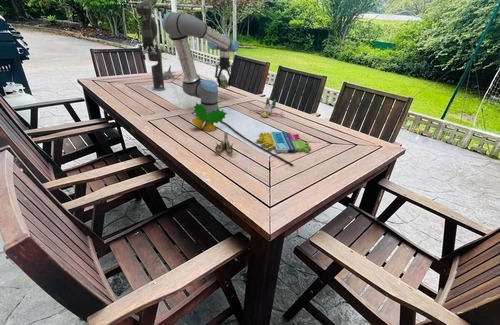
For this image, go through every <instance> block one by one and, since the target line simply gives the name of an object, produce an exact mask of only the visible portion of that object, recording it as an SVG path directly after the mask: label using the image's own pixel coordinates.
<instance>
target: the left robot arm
mask: <svg viewBox="0 0 500 325" xmlns="http://www.w3.org/2000/svg"><path fill="white" fill-rule="evenodd" d="M157 2H158V0H141V2H139V3H137V4H136V6H135V13H136V14H137V15H138V16H141V17H143V18H144V19H141V20H140V22H139V23H140V33H141V41H142V44H138V53H139V55H141V57H142V61H146V60H147V59H148V61H149V62H157V63H156V64H154V65H152V66H151V76H152V85H153V90H154V91H164V90H165V81H164V80H165V79H163V74H164V70H163V56H162V55H163V54H162V51H161V50H159V45H158V44H154V42H155V39H156V38H157V36H158V24H157V22H156V20H155V19H154V17H153V16H152V15H153V7H155V6H156V5H157ZM146 54H147V59H146Z"/></svg>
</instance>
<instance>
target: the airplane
mask: <svg viewBox="0 0 500 325" xmlns="http://www.w3.org/2000/svg"><path fill="white" fill-rule="evenodd" d="M171 68H172V65H169V67H168V69H167V71H165V70H163V79H164V80H168V79H169V78H171V79H173V78H175V77H176V76H179V77H180V76H181V74H176V72H173V71H172V70H171Z"/></svg>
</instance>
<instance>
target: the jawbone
mask: <svg viewBox="0 0 500 325" xmlns="http://www.w3.org/2000/svg"><path fill="white" fill-rule="evenodd" d="M223 135H224V136H223V140H222V139H221V142H220V144H218V142H215V144H216V146H215V148H214V149H215V152H214V154H215V155H217V156H218V155H220V153H221V152H223V151H224V150H226V152H227V153H228V155H229V156H233V155H234V154H233V153H234V148H233V144H234V143H230V140H228V139H229V138H228V137H229V136H228V135H229V133H228V131H226V132H224V134H223Z"/></svg>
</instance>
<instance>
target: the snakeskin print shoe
mask: <svg viewBox="0 0 500 325" xmlns="http://www.w3.org/2000/svg"><path fill="white" fill-rule="evenodd" d="M219 78H220V87H221V88H223V89H227V88H229V86H228V79H227V77H226V75H225V74H224V73H223V72H221V75H220V77H219ZM217 85H219V83H218V82H217Z"/></svg>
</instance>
